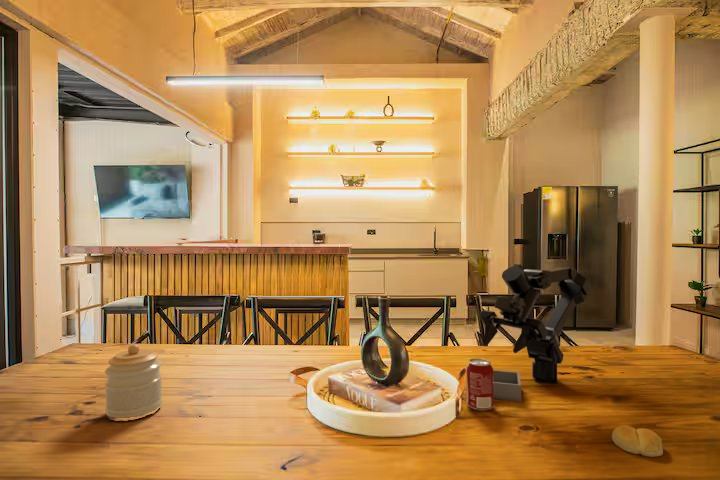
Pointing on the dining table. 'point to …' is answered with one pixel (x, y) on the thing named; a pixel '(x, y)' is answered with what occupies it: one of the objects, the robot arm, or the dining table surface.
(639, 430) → the bread roll
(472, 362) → the soda can
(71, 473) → the dining table surface
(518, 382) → the grey crate
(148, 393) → the jar
